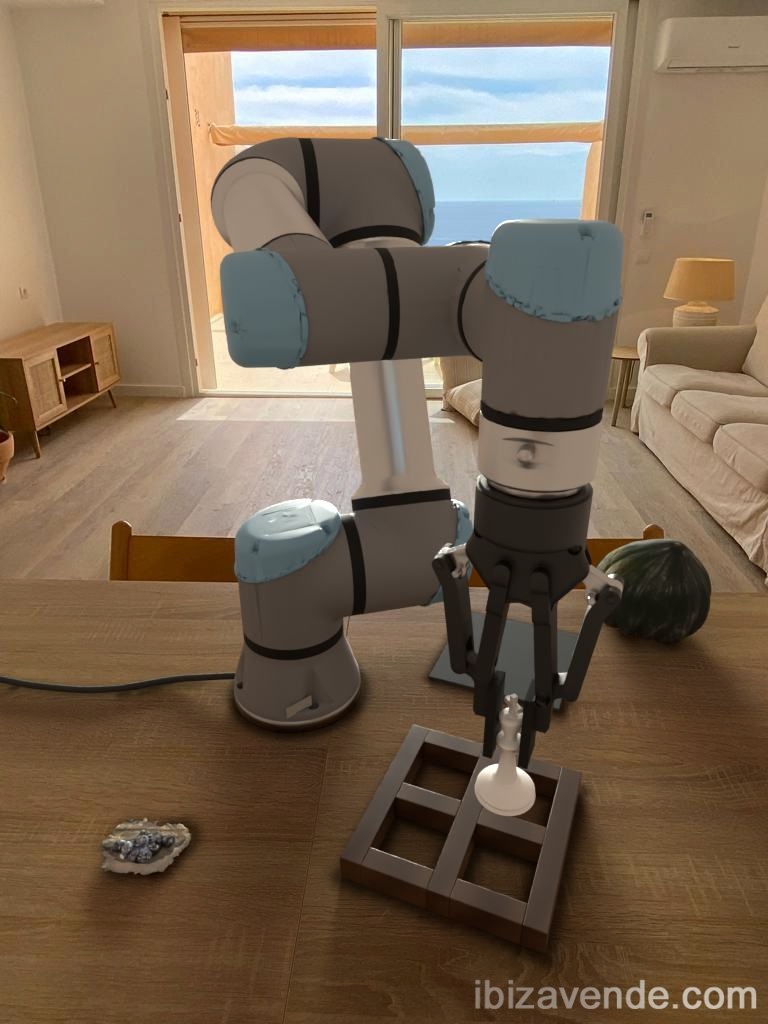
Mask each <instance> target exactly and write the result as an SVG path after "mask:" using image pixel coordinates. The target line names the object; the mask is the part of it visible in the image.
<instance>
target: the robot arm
mask: <svg viewBox="0 0 768 1024" xmlns="http://www.w3.org/2000/svg"><path fill="white" fill-rule="evenodd" d="M431 174H432V173H431V171H430V168H429V165H428V163H427V160H426V158H425V156H424V155H423V153H422V151H421V150H420V149H419V148H418V147H417V146H416V145H414V144H413V143H412V142H411V141H409V140H406V139H394V138H393V139H392V138H386V137H385V136H373V137H370V138H346V137H345V138H342V137H339V138H338V137H336V138H335V137H297V136H288V137H279V138H273V139H269V140H266V141H262V142H259V143H257V144H254V145H252V146H249V147H247V148H245V149H244V150H241V151H240V152H239V153H237V154H236V155H235V156H233V157H232V158H230V159H229V160H228V161H227V162H226V163H225V164H224V165H223V166H222V168H221V169H220V171H218V174H216V177H215V178H214V182H213V184H212V187H211V192H210V210H211V215H212V220H213V223H214V226H215V227H216V230H217V232H218V234H219V235H220V237H221V238H222V240H224V242H225V243H226V244H227V245H228V246H229V247H230V248H231V249H232V252H231V253H227V254H226V255H225V256H224V257H223V258H222V260H221V262H220V265H219V283H220V296H221V304H222V305H221V306H222V313H223V324H224V332H225V336H226V344H227V352H228V354H229V355H228V356H229V357H230V359H231V360H232V362H233V363H234V364H236V365H237V366H239V367H242V368H245V369H257V368H258V369H259V368H261V369H265V368H276V369H277V370H282V371H287V370H290V369H291V370H293V369H295V368H302V367H303V368H305V367H316V366H329V365H341V364H348V373H349V381H350V388H351V389H350V390H351V397H352V407H353V415H354V424H355V433H356V442H357V450H358V451H357V452H358V459H359V467H360V468H359V469H360V477H361V482H360V485H359V486H358V487H357V489H356V490H355V491H354V492H353V494H352V495H351V496H350V502H351V513H342V514H340V512H339V511H338V509H337V508H336V506H334V505H333V504H332V503H330V502H327V501H325V500H320V499H317V500H312V499H311V498H301V499H300V498H299V499H292V500H287V501H283V502H279V503H276V504H273V505H270V506H267V507H265V508H263V509H261V510H259V511H257V512H255V513H254V514H253V515H252V516H250V517H249V518H247V519H246V520H245V521H244V522H243V523H242V524H241V526H240V527H239V528H238V530H237V531H236V534H235V538H234V559H235V560H234V565H233V570H234V571H233V572H234V575H235V577H236V578H237V584H238V585H237V586H238V594H239V595H238V596H239V605H240V617H241V625H242V627H241V628H242V634H243V635H242V636H243V644H242V647H241V651H240V655H239V659H238V663H237V665H236V670H235V671H231V672H230V671H229V672H211V673H192V674H191V673H190V674H179V675H170V676H163V677H157V678H152V679H146V680H141V681H135V682H129V683H121V684H111V685H72V684H71V685H69V684H59V683H48V682H38V681H31V680H27V679H25V680H24V679H19V678H15V677H10V676H5V675H1V674H0V684H6V685H10V686H15V687H20V688H26V689H32V690H40V691H48V692H49V691H50V692H59V693H70V694H71V693H72V694H74V693H75V694H108V693H121V692H129V691H134V690H140V689H146V688H149V687H156V686H161V685H162V686H163V685H168V684H176V683H187V682H207V681H208V682H209V681H223V680H224V681H225V680H226V681H227V680H233V695H234V696H233V697H234V701H235V702H234V703H235V705H236V708H237V710H238V712H239V713H240V714H241V715H242V717H243V718H245V719H246V720H247V721H248V722H250V723H251V724H253V725H255V726H257V727H260V728H262V729H265V730H269V731H274V732H280V733H300V732H301V733H302V732H308V731H313V730H317V729H320V728H323V727H326V726H328V725H330V724H332V723H334V722H336V721H338V720H339V719H341V718H343V717H344V716H345V715H346V714H347V713H349V712H350V711H351V709H353V707H354V706H355V705H356V703H357V702H358V700H359V698H360V694H361V692H362V691H361V689H362V683H361V681H362V679H361V677H362V676H361V670H360V666H359V663H358V661H357V659H356V657H355V655H354V652H353V649H352V647H351V645H350V642H349V640H348V638H347V636H346V633H345V628H344V627H345V626H344V618H348V617H353V616H359V615H360V616H361V615H367V614H374V613H380V612H387V611H393V610H400V609H406V608H413V607H422V608H427V607H430V606H431V605H434V604H439V603H443V609H444V610H443V611H444V618H445V627H446V637H447V644H448V647H449V656H450V665H451V669H452V671H453V672H455V673H456V674H464V673H465V674H467V675H468V676H470V677H471V678H472V679H473V681H474V690H473V700H472V702H473V703H472V711H473V713H474V715H475V716H479V717H483V718H484V727H483V728H484V730H483V741H482V744H483V753H482V756H484V757H487V758H490V759H492V756H493V754H494V751H495V748H497V746H498V744H497V742H496V737H497V735H498V733H499V732H500V731H502V726H501V723H500V721H499V713H500V711H501V710H503V709H504V698H503V697H504V686H505V675H506V672H504V671H500V670H496V671H495V667H496V665H497V663H498V661H499V659H498V657H499V652H500V647H501V643H502V638H503V633H504V629H505V624H506V620H508V616H509V615H508V614H509V609H510V605H511V604H521V605H524V606H526V607H528V608H530V609H531V623H532V625H533V628H534V673H535V679H532V680H531V683H530V685H529V688H528V691H527V694H526V697H525V700H524V703H523V707H522V708H523V709H522V713H523V717H522V727H521V729H520V734H521V737H520V747H519V749H518V754H519V757H518V767H521V768H524V769H527V768H528V765H529V762H530V758H532V755H533V752H534V749H535V743H536V735H537V732H538V733H543V734H546V733H547V732H548V731H549V729H550V726H551V722H552V719H553V713H554V710H553V706H554V700H556V699H559V698H562V700H564V701H565V702H567V703H575V702H577V701H578V699H579V696H580V694H581V691H582V688H583V685H584V682H585V681H584V680H585V678H586V675H587V673H588V669H589V666H590V663H591V661H592V657H593V655H594V651H595V649H596V646H597V643H598V640H599V636H600V633H601V631H602V627H603V624H604V620H605V619H606V618H607V617H608V616H609V615H610V614H611V613H612V612H613V611H614V609H615V608H616V607H617V606H618V605H619V604H620V602H621V597H622V592H623V587H624V579H623V578H622V577H621V576H620V575H618V574H611V575H609V576H607V575H606V574H604V573H603V572H601V571H600V570H598V569H597V567H596V566H594V565H592V563H593V560H592V555H591V553H590V551H589V549H588V544H587V542H588V541H587V540H588V533H589V526H590V519H591V518H590V517H591V510H592V502H593V495H594V488H593V486H592V485H591V482H592V481H593V480H594V479H595V477H596V473H597V467H598V461H599V460H598V459H599V452H600V446H601V445H600V444H601V439H602V432H603V424H604V417H603V415H604V407H605V406H606V400H607V399H606V398H607V392H608V385H609V379H610V378H609V377H610V372H611V364H612V359H613V352H614V346H615V338H616V331H617V326H618V319H619V313H620V312H619V311H620V308H621V304H622V302H623V289H622V285H621V282H622V271H623V261H624V250H625V239H624V235H623V232H622V231H621V230H620V228H619V227H618V226H617V225H616V224H614V223H613V222H611V221H607V220H599V219H578V218H577V219H576V218H523V219H520V218H519V219H511V220H505V221H503V222H501V223H500V224H499V225H497V226H496V227H495V229H494V231H493V233H492V234H491V236H490V240H483V239H479V240H458V241H455V242H451V243H448V244H445V245H427V244H428V243H429V242H430V240H431V238H432V236H433V233H434V229H435V223H436V222H435V221H436V215H435V211H434V208H436V197H435V189H434V184H433V178H432V175H431ZM465 356H466V357H472V358H474V359H476V361H479V362H481V363H482V365H481V368H482V370H481V391H480V393H481V394H480V396H481V397H480V401H479V423H478V439H477V443H478V444H477V460H476V461H477V462H476V465H477V470H478V471H479V473H480V474H479V475H478V476H477V478H476V480H475V491H474V510H473V521H472V520H471V519H470V515H471V514H470V511H469V509H468V507H467V506H466V505H465V504H464V503H463V502H462V501H460V500H459V501H458V500H457V499H452V495H451V487H450V485H449V484H448V483H447V482H446V481H445V480H443V479H442V478H441V477H439V476H438V474H437V473H436V470H435V462H434V453H433V445H432V435H431V428H430V420H429V419H430V418H429V412H428V410H429V409H428V404H427V402H428V401H427V394H426V393H427V392H426V385H425V377H424V376H425V375H424V366H423V359H432V358H434V359H435V358H448V357H465ZM473 568H474V570H475V571H476V573H477V575H478V576H479V577H480V579H481V580H482V582H483V584H484V585H485V587H486V589H487V590H488V596H487V600H486V606H485V615H486V616H485V621H484V626H483V631H482V636H481V641H480V646H479V651H478V653H476V652H475V647H474V636H473V625H472V615H471V612H472V606H471V605H472V604H471V596H470V585H469V581H470V579H471V575H472V573H473ZM581 583H583V585H584V586H585V590H584V593H583V598H584V600H585V602H586V603H587V608H586V610H585V613H584V616H583V620H582V622H581V623H582V624H581V627H580V630H579V633H578V635H579V636H578V639H577V642H576V645H575V648H574V651H573V655H572V658H571V661H570V664H569V667H568V670H567V673H558V657H557V630H558V605H559V601H561V600H562V599H563V598H564V597H565V596H567V595H568V594H569V593H571V592H572V590H574V589H575V588H576V587H578V586H579V585H580V584H581Z"/></svg>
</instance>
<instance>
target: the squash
mask: <svg viewBox="0 0 768 1024" xmlns="http://www.w3.org/2000/svg"><path fill="white" fill-rule="evenodd" d="M596 568H597V569H598V570H600V571H601V572H603V573H604V574H606V575H607V576H609V575H611V574H618V575H620V576H621V577H622V578H623V579H624V587H623V592H622V597H621V602H620V604H619V605H618V606H617V607H616V608H615V609H614V611H613V612H612V613H611V614H610V615H609V616H608V617H607V618H606V619H605V620H604V622H603V624H605V625H606V626H607V627H609V628H612V629H619V631H620V632H621V633H622V634H623V635H625V636H626V637H634V636H636V635H637V636H638V638H640V639H642V640H644V641H654V642H656V643H658V644H661V645H663V646H675V645H677V644H679V643H682V641H683V640H684V639H686V638H689V637H691V636H692V635H694V634H695V633H697V632H698V631H699V630H700V629H701V628H702V627H703V626H704V624H705V623H706V622H707V618H708V616H709V612H710V608H711V596H712V582H711V579H710V574H709V572H708V571H707V569H706V567H705V566H704V565H703V563H702V562H701V560H700V559H699V558H698V556H696V555H695V553H694V551H692V549H690V547H688V546H687V545H686V544H685V543H684V542H682V541H680V540H678V539H674V538H652V539H645V540H638V541H632V542H629V543H628V544H625V545H623V546H620V547H617V548H616V549H613V550H612V551H610V552H609V553H608V554H607V555H606V556H605V557H604V558H603V559H602V560H601V561H600V563H599V564H598V565H597V567H596Z"/></svg>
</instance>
